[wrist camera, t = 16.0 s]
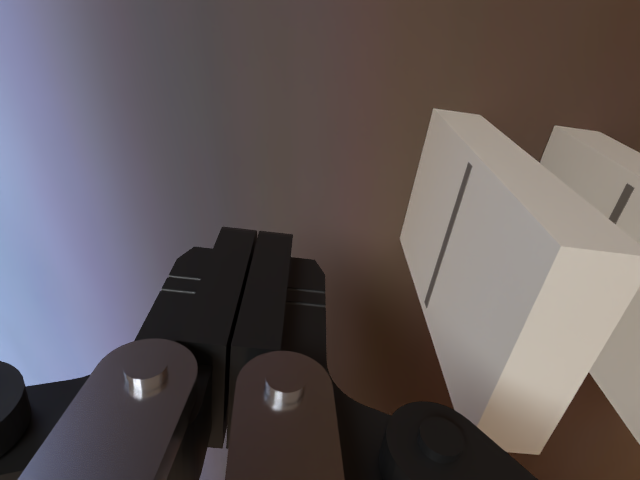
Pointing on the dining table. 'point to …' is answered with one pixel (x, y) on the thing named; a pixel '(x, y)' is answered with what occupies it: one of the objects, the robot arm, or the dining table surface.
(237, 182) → the dining table surface
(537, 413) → the domino
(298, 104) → the dining table surface
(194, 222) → the dining table surface
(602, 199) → the domino
